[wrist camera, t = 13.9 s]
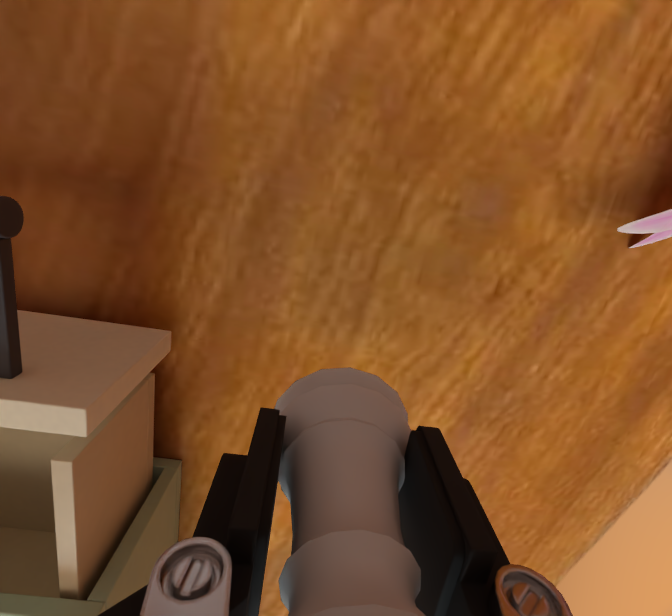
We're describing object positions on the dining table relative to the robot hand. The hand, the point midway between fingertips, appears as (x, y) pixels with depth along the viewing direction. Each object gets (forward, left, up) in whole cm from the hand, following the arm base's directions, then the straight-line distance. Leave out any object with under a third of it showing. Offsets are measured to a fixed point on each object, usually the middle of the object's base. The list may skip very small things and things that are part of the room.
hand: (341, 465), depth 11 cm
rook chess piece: (0, 0, -2) cm, 2 cm away
